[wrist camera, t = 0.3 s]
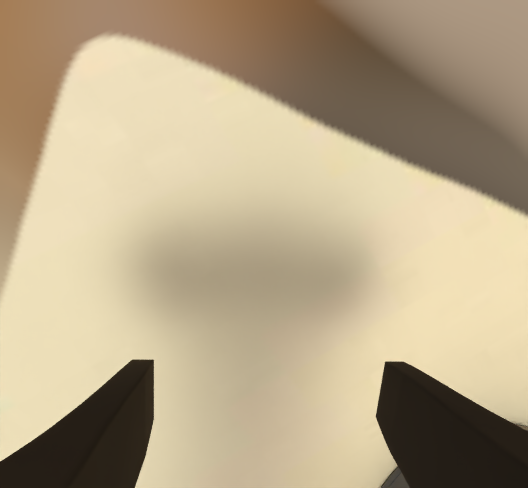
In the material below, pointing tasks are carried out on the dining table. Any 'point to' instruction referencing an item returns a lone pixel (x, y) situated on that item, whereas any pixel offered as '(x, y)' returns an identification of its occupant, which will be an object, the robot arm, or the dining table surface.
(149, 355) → the dining table surface
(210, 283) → the dining table surface
